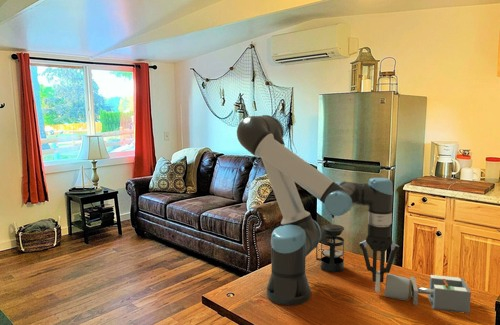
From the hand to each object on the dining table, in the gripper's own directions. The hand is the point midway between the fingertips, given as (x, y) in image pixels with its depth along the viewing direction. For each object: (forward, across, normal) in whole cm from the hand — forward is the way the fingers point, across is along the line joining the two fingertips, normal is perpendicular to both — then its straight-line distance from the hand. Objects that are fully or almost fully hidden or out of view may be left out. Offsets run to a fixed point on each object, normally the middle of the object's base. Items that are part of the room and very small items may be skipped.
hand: (377, 290), depth 129 cm
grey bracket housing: (+2, +22, 0) cm, 22 cm away
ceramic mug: (+2, +6, +1) cm, 7 cm away
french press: (+2, -18, +19) cm, 26 cm away
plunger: (+1, +17, 0) cm, 17 cm away
